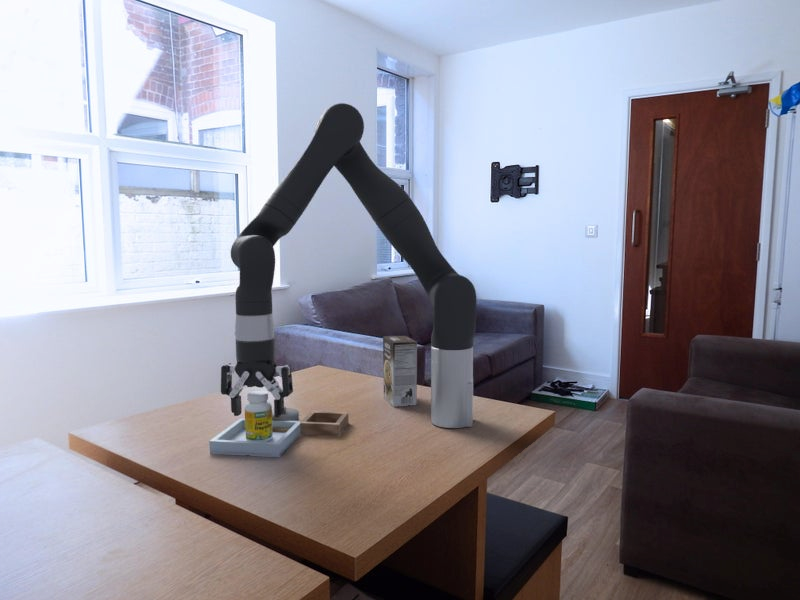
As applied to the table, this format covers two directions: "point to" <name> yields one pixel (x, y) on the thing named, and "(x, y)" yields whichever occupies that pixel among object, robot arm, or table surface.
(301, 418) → the block
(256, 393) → the supplement bottle
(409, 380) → the coffee box
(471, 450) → the table surface
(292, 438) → the tray
